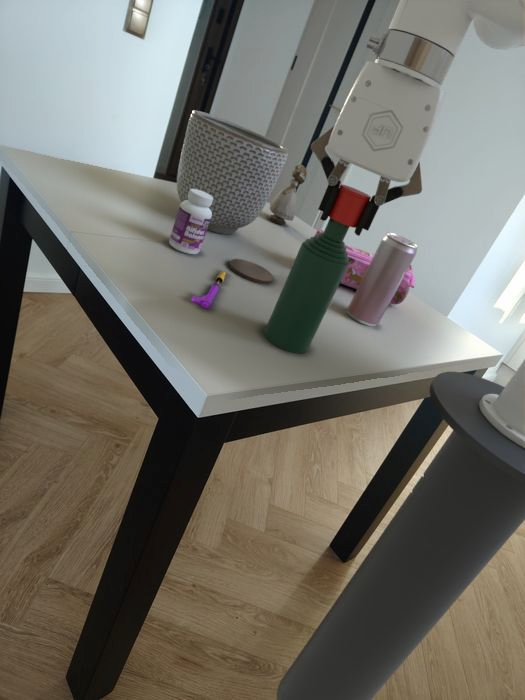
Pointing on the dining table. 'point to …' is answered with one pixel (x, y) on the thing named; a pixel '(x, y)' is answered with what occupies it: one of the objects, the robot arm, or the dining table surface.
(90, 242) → the dining table surface
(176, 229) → the pill bottle
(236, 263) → the coaster
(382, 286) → the beverage can
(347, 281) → the pencil case
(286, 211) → the figurine
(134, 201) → the dining table surface
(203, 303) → the purple tool
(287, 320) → the bottle
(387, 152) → the robot arm
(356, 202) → the cap
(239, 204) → the planter
